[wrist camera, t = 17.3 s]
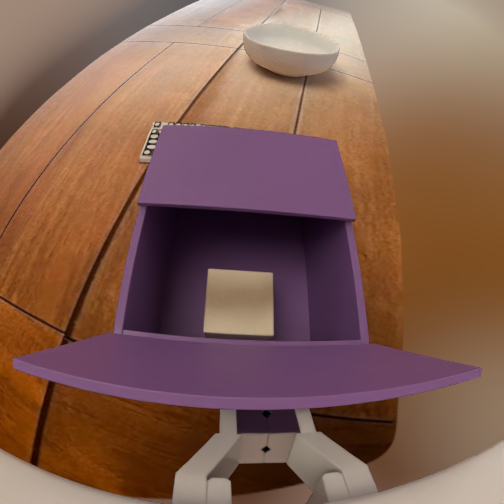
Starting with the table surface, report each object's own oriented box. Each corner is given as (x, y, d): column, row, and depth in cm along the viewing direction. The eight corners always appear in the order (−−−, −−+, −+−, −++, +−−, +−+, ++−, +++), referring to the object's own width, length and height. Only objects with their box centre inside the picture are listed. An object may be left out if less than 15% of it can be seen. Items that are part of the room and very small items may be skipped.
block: (263, 348, 22) (274, 335, 18) (205, 345, 22) (203, 332, 18) (263, 294, 24) (273, 272, 21) (209, 291, 24) (208, 267, 20)
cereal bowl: (292, 48, 52) (298, 21, 46) (348, 84, 46) (359, 53, 40) (223, 57, 46) (225, 25, 40) (276, 96, 40) (284, 56, 34)
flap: (375, 343, 13) (374, 349, 13) (108, 332, 12) (108, 338, 12) (482, 367, 6) (481, 376, 6) (12, 357, 5) (13, 368, 5)
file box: (314, 370, 22) (376, 345, 13) (151, 363, 21) (107, 334, 12) (304, 216, 30) (337, 140, 21) (174, 207, 28) (162, 124, 19)
